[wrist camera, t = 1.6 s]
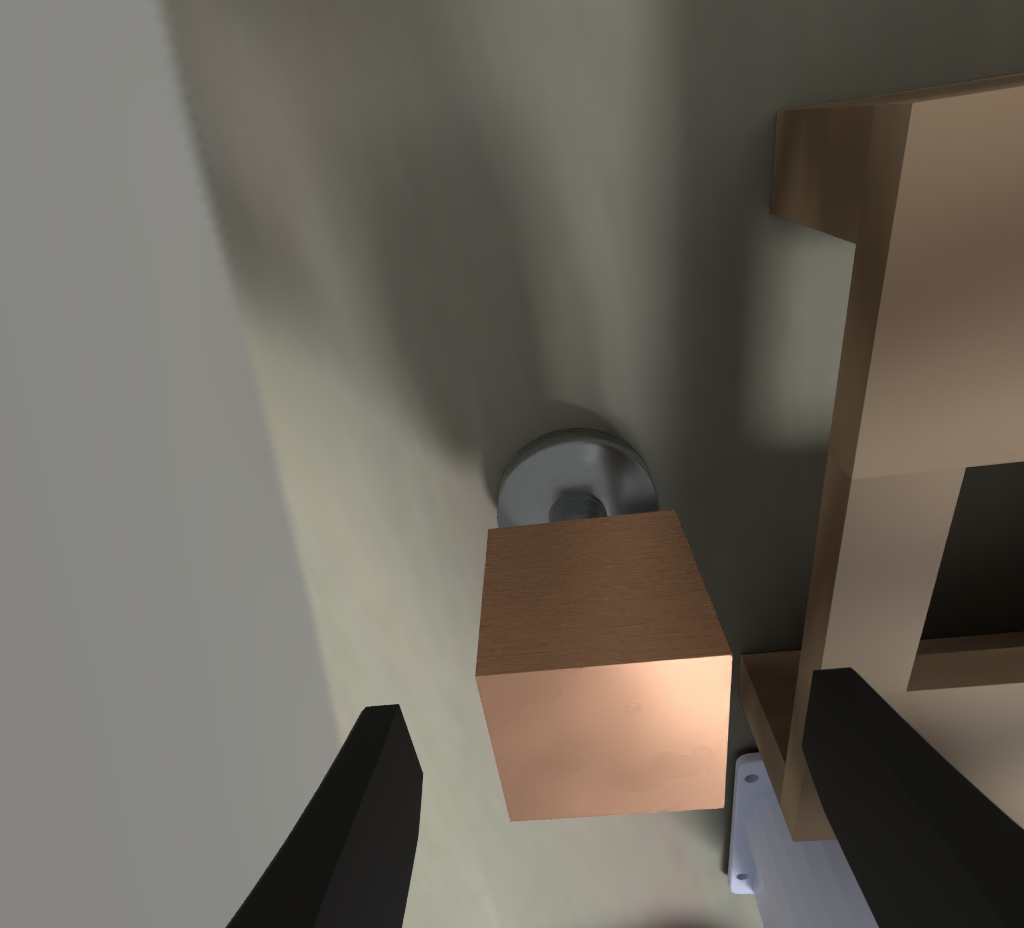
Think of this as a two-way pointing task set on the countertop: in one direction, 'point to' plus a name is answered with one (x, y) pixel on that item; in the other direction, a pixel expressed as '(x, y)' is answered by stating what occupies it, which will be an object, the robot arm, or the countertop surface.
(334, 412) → the countertop surface
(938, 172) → the keyhole board
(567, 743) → the brown piece
